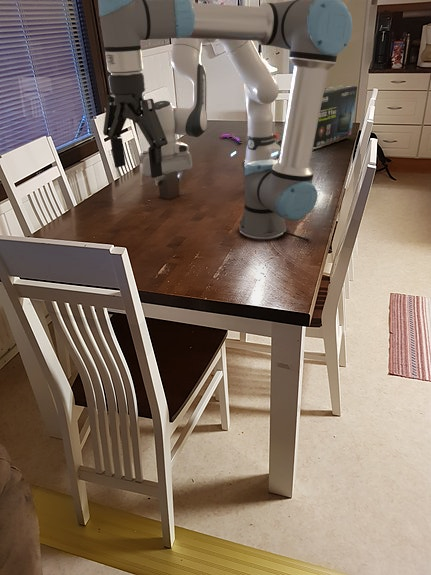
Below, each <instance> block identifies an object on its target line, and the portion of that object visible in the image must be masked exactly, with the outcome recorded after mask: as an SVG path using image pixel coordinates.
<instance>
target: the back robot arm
mask: <svg viewBox="0 0 431 575" xmlns="http://www.w3.org/2000/svg"><path fill="white" fill-rule="evenodd" d="M217 41H219V42H220V43H221V44H222V46H223V48H224V51H225V53H226V55H227V57H228V58H229V60H230V62H231V64H232V66H233V67H234V70H235V72H236V73H237V74H238V75H239V77H240V78H241V80H242V82H243V83H244V84H243V88H244V89H243V90H244V96H245V106H246V113H247V114H246V115H247V134H246V148H245V156H244V157H245V158H244V161H245V162H244V161H243V163H244V165H243V167H244V168H245V166H246V165H247V164H248V163H250V162H253V161H259V160H279V156H280V150H281V145H279V143H277V144H276V140H279V136H280V135H279V134H277V133H273V130H274V129H273V125H274V123H273V122H274V115H273V111H272V107H271V104H272V103H274V102H275V101H276V100H277V98H278V96H279V92H280V90H279V88H280V87H279V85H278V83H277V82H276V80H275V78H274V76H273V75H272V73H271V72H270V70H269V68H268V67H267V65H266V64H265V62H264V60H263V59H262V57H261V56H260V54H259V52H258V50H257V48H256V46H255V43H254V42H253V41H250V40H221V39H193V38H179V39H177V38H173V40H172V44H171V51H170V64H171V66H172V69H173V70H174V71H175V72H176V73H177V74H178V75H179V76H181V77H182V78H184V79H186V80H188V81H189V82H191V83H192V106H191V107H189V108H187V107H176V106H173V104H172V102H171V101H169V100H159V101H156V102H154V106H155V111H156V113H157V116H158V118H159V121H160V124H161V126H162V129H163V131H164V134H165V136H166V139H167V142H168V144H167V145H164V146H162V147H161V153H162V162H161V165H162V173H164V172H170V171H178V183H181V181H182V176H183V174H184V171H189V170H191V169H192V168H193V159H192V158H193V157H192V154H191V152H190V146H189V145H188V144H186V143H184V142H181V141H177V136H176V135H179V136H180V135H181V136H189V137H194V138H199V137H201V136H202V135H203V134H204V133H205V132H206V131H207V128H208V115H207V72H206V68H205V66H204V65H202V62H201V54H202V48H203V47H205V46H207V45H211V44H214V43H215V42H217ZM275 139H276V140H275ZM160 140H161V139H160ZM154 142H155V141H154ZM235 154H237V151H234V152H232V153H231V154H230V157H233V156H234V155H235ZM138 159H139V163H140V174H141V175H142V176H143V177H145V178H148V177H151V169H150V160H149V151H148V150H143V151H142V152H140V153H139V155H138ZM152 179H153V181H154V183H155V184H154V185H155V186H156V187H159V186H160V181H159V180H158V177H155V178H152Z"/></svg>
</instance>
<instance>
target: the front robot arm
mask: <svg viewBox="0 0 431 575" xmlns="http://www.w3.org/2000/svg"><path fill="white" fill-rule="evenodd" d="M97 2H98V3H97V4H98V6H97V7H98V17H99V20H100V27H101V33H102V34H101V35H102V41H103V46H104V53H105V60H106V68H107V72H108V73H110V74H109V76H108V77H107V78H108V84H109V90H110V91H109V92H110V93H111V94H109V95H106V96H105V97H106V98H105V100H106V108H105V109H106V110H105V116H104V122H103V130H102V133H103V135H104V136H107V137H108V139H109V142H110V145H111V151H112V155H113V163H114V168H115V169H118V168H121V167H124V166H126V157H125V149H124V143H123V138H122V131H123V128H124V126H125V125H126V121H127V119H129V120H130V121H133V123H134V124H137V126H138V128H139V129H140V131H141V133H142V134H143V136H144V138H145V140H146V141H147V143H148V145H149V147H148V149H147V151H149V160H150V169H151V176H150V177H151V179H153V178H155V177H157V178H158V176H161V175H162V165H161V162H162V153H161V147H162V146H164V145H167V144H168V142H167V139H166V136H165V134H164V131H163V129H162V126H161V124H160V121H159V118H158V116H157V113H156V111H155V106H154V103H155V101H154V99H153V98H148V99H144V97H143V93H144V92H145V91H146V84H145V75H144V74H143V72H142V71H143V70H144V63H143V54H142V45H141V41H147V40H167V39H169V40H171V39H174V38H177V39H179V38H193V39H221V40H250V41H252V42H253V41H254V42H256V43H257V44H258V45H259V46H269V47H275V48H280V49H284V50H289V52H290V53H289V60H290V63H292V65H293V72H292V77H291V84H290V89H289V95H288V101H287V108H286V113H285V120H284V125H283V133H282V138H281V139H282V140H281V144H280V147H281V150H280V156H279V160H259V161H253V162H250V163H248V164H247V165H246V166H245V167H244V172H243V173H244V174H243V177H244V179H243V180H244V211H243V213H242V216H241V220H240V221H239V224H238V225H239V226H238V232H239V235H240V236H241V237H242V238H244V239H247V240H250V241H254V242H271V241H277V240H279V239H281V238H283V237H285V235H287V236H289V237H294V238H296V239H300V240H303V241H306V242H309V238H307V237H305V236H301V235H299V234H295V233H291V232H288V231H287V223H286V221H285V220H287V221H291V222H292V221H294V222H295V221H298V220H299V221H300V220H302V219H303V218H305V217H306V216H307V215H308V214H310V213H311V212H313V210H314V208H315V206H316V204H317V201H318V190H317V189H316V186H315V185H314V184H313V178H314V173H315V172H314V170H313V169H312V167H311V160H312V155H313V151H314V150H313V145H314V140H315V135H316V130H317V124H318V119H319V114H320V109H321V104H322V99H323V94H324V88H326V84H327V83H326V82H327V77H328V73H329V70H330V69H331V68H332V67H333V66H335V65H336V64H337V59H338V54H339V53H341V52H343V50H345V47H347V46H348V45H349V42H350V40H351V37H352V34H353V17H352V14H351V12H350V10H349V8H348V6H347V5H346V4H345V2H344V1H342V0H287V1H279V2H262V3H260V5H259V6H251V5H235V4H218V3H203V2H192V1H191V0H97ZM160 139H161V140H160ZM154 141H155V142H154Z"/></svg>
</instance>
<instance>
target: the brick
mask: <svg viewBox="0 0 431 575" xmlns="http://www.w3.org/2000/svg"><path fill="white" fill-rule="evenodd" d="M178 174H179V173H178V171H170V172H164V173H162V175H161V176H158V177H157V180H159V181H160V186H158V191H159V198H162V199H164V200H168V201H169V200H171V199H174V198H176V197H179V196H180V186H179V183H180V182H178Z"/></svg>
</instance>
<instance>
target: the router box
mask: <svg viewBox="0 0 431 575" xmlns="http://www.w3.org/2000/svg"><path fill="white" fill-rule="evenodd" d="M357 93H358V86H356V85H350V84H339V85H338V84H337V85H334V86H328V87H325V88H324V94H323V99H322V104H321V109H320V114H319V119H318V124H317V130H316V135H315V140H314V145H313V147H317V146H320V145H323V144H325V143H328V142H331V141H333V140H336V139H338V138H341V137H344V136H347V135H351V136H352V133H353V132H352V131H353V125H354V115H355V109H356V99H357Z"/></svg>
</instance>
